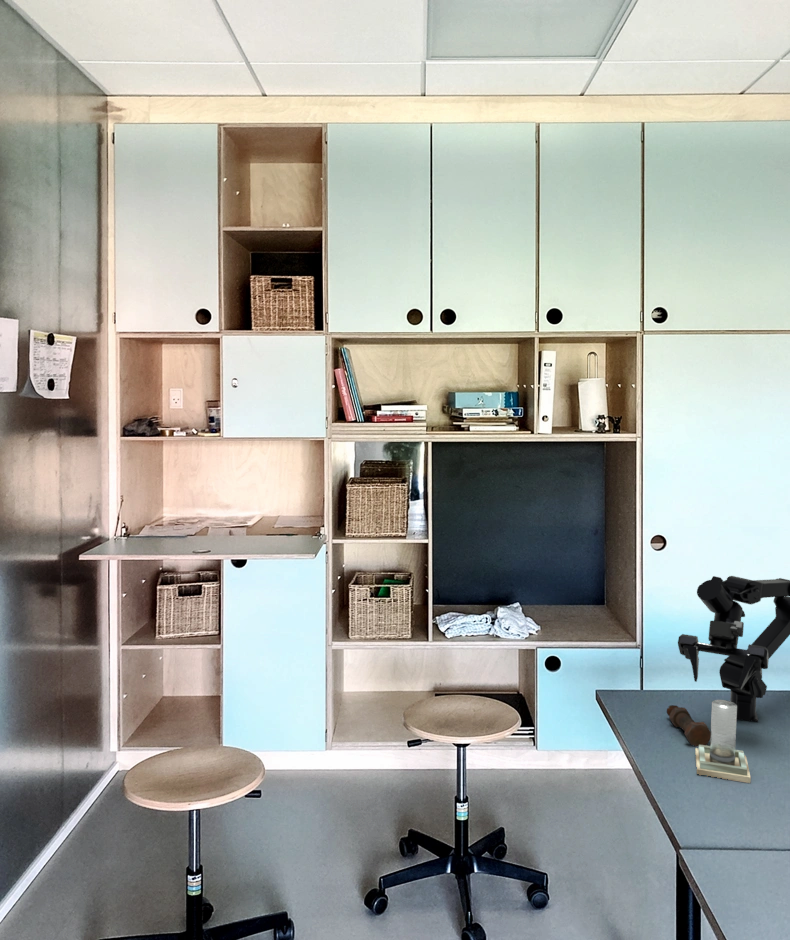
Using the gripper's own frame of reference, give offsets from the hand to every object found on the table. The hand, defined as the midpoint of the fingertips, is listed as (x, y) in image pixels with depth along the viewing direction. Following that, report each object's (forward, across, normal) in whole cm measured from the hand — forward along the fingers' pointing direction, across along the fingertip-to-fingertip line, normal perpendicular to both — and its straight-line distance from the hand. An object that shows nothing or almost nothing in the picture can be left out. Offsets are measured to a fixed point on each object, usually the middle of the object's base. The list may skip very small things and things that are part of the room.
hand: (717, 684), depth 167 cm
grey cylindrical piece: (+16, +3, +1) cm, 17 cm away
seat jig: (+18, +3, +2) cm, 18 cm away
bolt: (+8, -7, +12) cm, 16 cm away
